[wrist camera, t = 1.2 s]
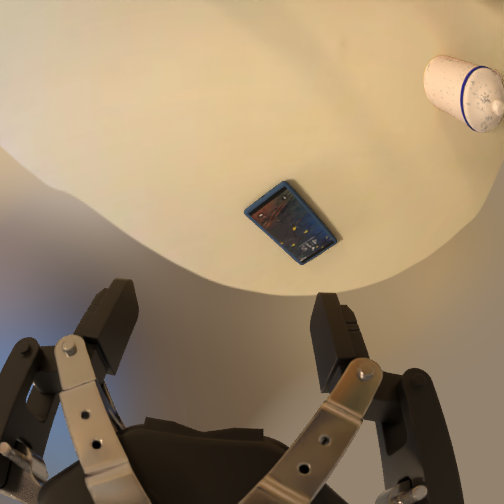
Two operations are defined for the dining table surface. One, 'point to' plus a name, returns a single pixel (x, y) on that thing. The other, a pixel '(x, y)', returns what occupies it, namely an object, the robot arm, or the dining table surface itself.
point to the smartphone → (291, 223)
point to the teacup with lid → (465, 92)
